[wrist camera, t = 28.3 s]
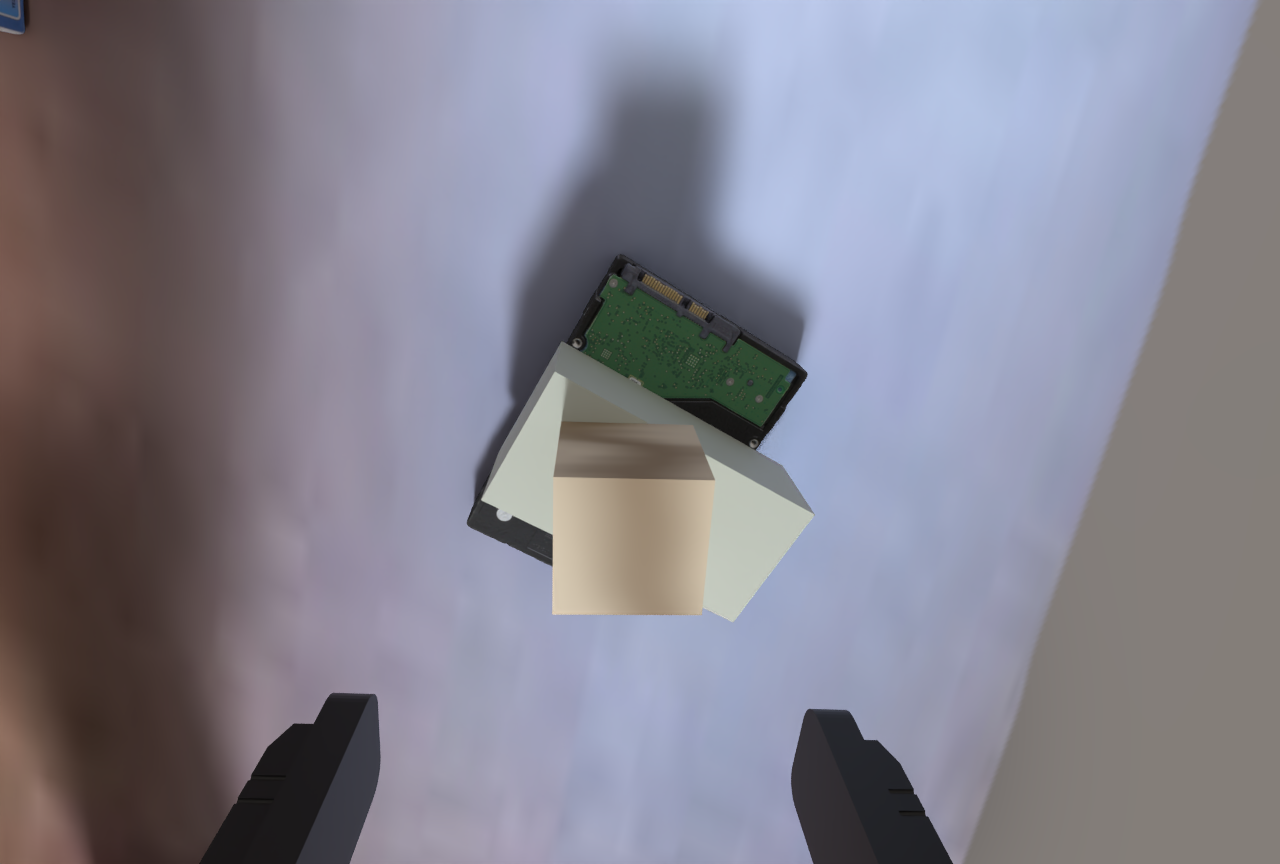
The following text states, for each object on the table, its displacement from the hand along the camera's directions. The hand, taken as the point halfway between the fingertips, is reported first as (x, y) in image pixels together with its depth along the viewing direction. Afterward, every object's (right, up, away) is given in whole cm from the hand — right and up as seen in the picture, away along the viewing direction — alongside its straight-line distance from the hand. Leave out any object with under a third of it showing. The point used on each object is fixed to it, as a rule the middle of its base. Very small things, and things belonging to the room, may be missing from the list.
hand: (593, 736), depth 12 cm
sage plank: (+1, +4, +19) cm, 19 cm away
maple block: (0, +4, +13) cm, 14 cm away
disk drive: (0, +6, +21) cm, 22 cm away
